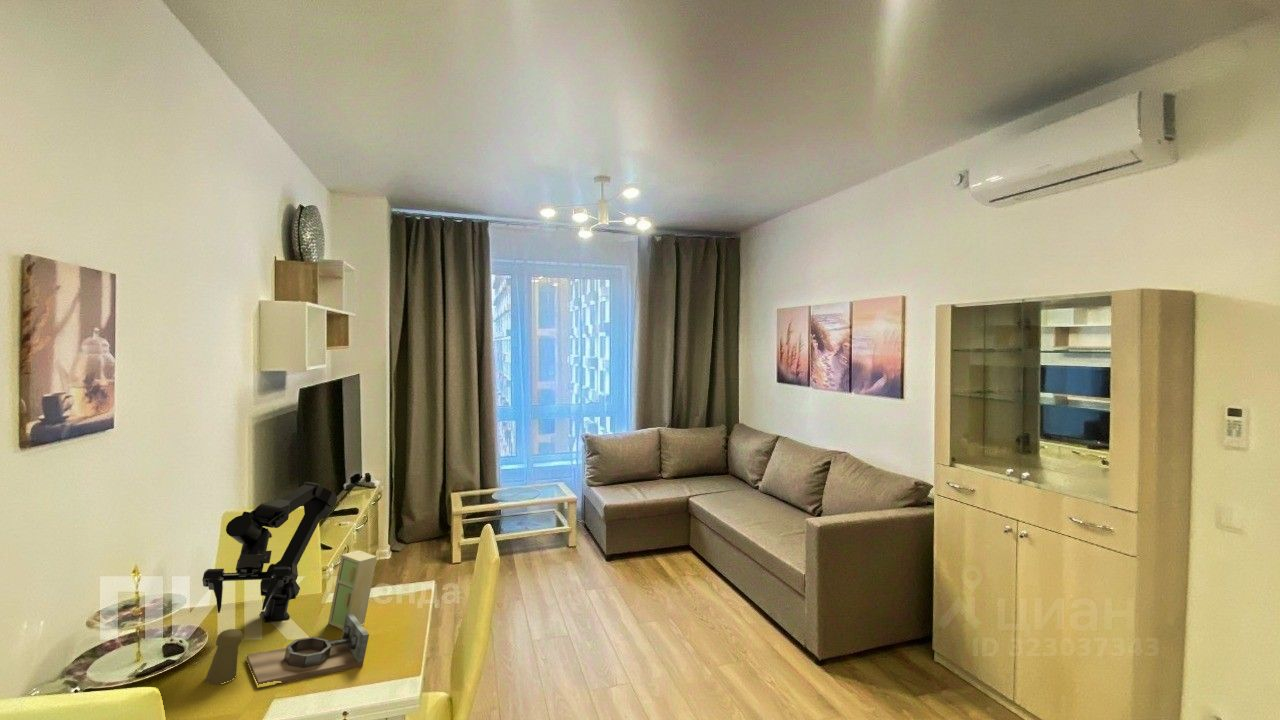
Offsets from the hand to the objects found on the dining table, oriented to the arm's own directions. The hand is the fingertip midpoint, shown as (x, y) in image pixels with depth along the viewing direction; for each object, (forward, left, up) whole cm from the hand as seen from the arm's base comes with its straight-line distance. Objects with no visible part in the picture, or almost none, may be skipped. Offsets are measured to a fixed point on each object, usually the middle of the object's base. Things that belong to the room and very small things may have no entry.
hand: (241, 611), depth 141 cm
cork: (+6, -3, -13) cm, 15 cm away
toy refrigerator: (-11, +30, -13) cm, 35 cm away
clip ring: (+7, +19, -12) cm, 23 cm away
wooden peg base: (+7, +15, -13) cm, 21 cm away
